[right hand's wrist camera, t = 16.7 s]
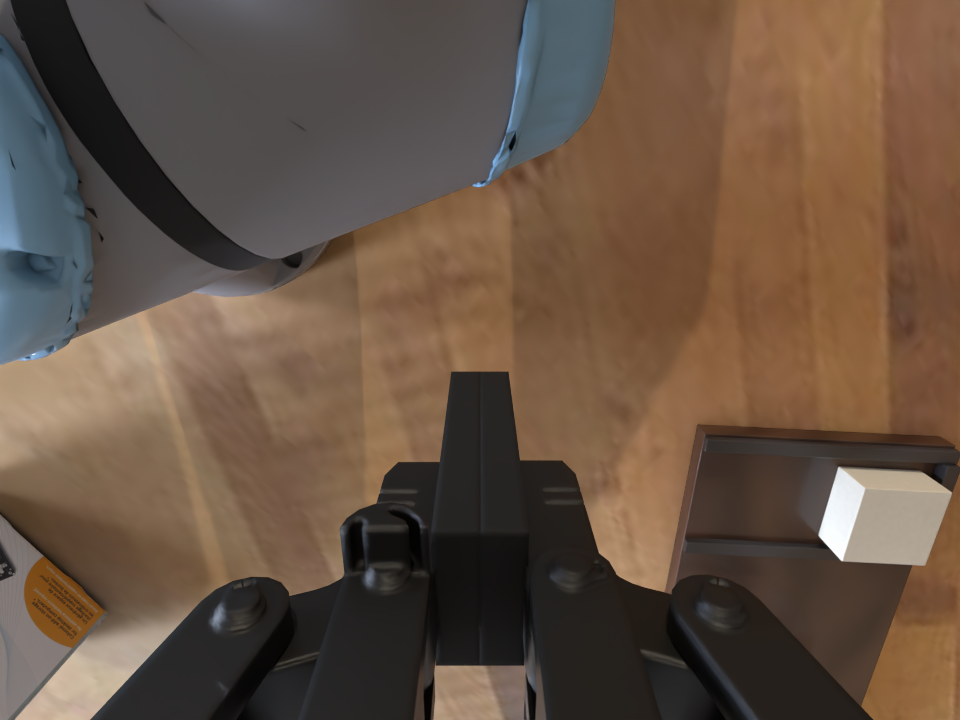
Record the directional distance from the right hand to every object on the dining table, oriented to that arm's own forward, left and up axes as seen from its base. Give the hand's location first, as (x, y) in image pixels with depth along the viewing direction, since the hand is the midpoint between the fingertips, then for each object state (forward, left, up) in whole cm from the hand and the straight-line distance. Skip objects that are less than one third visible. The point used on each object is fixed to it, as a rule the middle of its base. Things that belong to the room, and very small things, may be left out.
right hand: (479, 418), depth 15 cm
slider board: (+25, -27, -24) cm, 44 cm away
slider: (+29, -16, -22) cm, 40 cm away
